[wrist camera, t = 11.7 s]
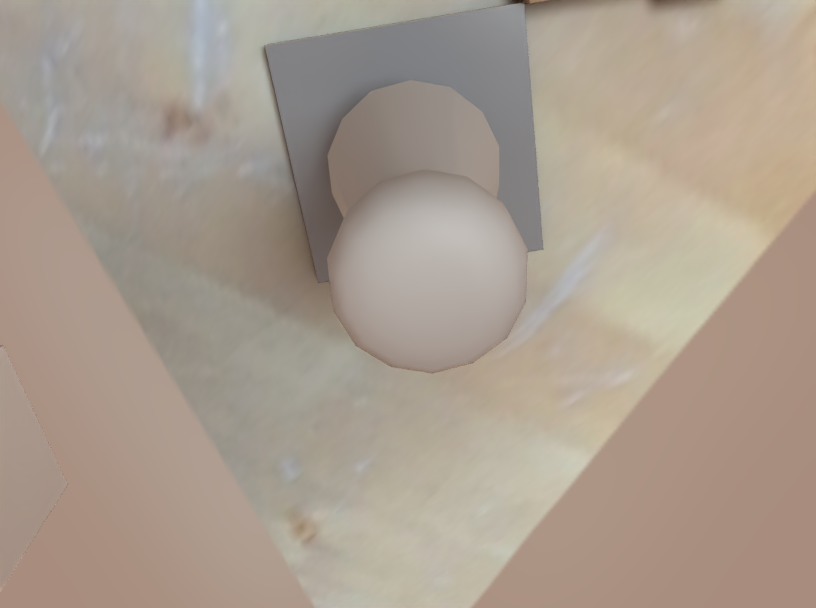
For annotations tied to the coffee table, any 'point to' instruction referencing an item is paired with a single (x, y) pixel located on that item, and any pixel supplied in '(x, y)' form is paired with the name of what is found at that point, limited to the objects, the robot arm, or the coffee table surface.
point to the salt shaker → (422, 230)
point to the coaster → (395, 63)
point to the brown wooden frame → (532, 1)
